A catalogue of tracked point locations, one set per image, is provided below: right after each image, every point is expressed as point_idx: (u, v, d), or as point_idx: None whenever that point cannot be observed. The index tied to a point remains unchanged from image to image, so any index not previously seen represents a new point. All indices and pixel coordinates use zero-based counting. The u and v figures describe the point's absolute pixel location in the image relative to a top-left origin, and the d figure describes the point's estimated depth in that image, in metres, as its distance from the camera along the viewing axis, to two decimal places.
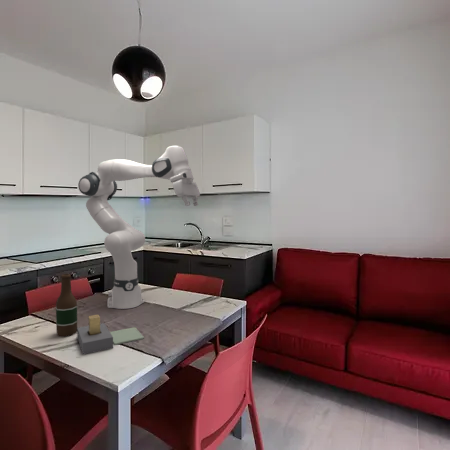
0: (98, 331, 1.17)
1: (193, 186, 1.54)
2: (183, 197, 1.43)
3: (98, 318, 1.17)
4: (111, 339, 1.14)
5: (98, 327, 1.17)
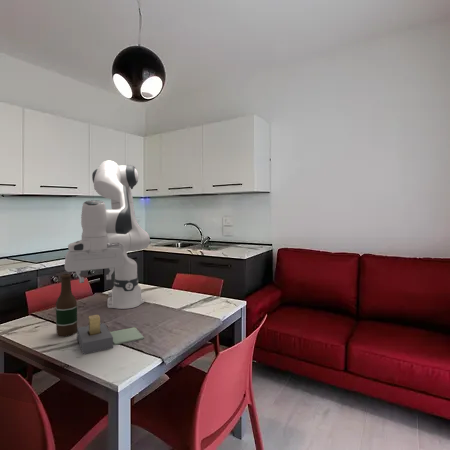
0: (98, 331, 1.17)
1: (109, 255, 1.18)
2: (76, 272, 1.13)
3: (98, 318, 1.17)
4: (111, 339, 1.14)
5: (98, 327, 1.17)
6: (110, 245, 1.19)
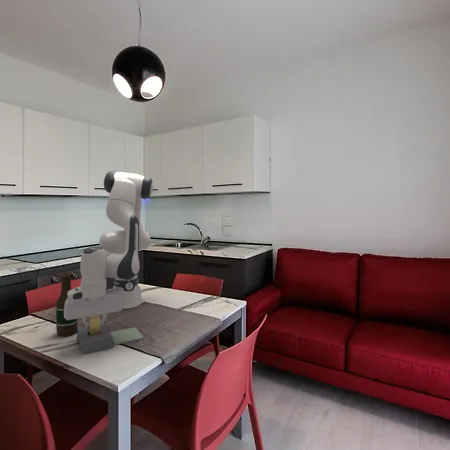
0: (98, 331, 1.17)
1: (108, 301, 1.19)
2: (81, 318, 1.16)
3: (98, 318, 1.17)
4: (111, 339, 1.14)
5: (98, 327, 1.17)
6: (109, 290, 1.20)
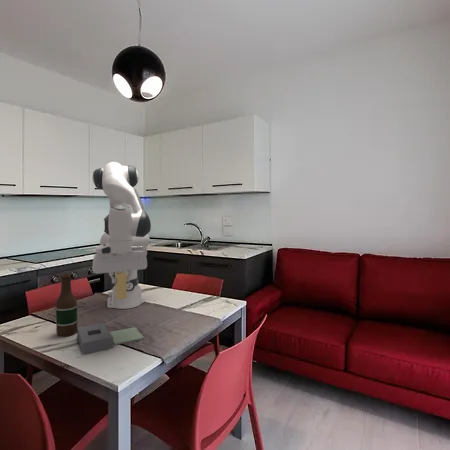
0: (124, 286, 1.22)
1: (134, 258, 1.23)
2: (109, 273, 1.20)
3: (125, 274, 1.21)
4: (111, 339, 1.14)
5: (124, 282, 1.21)
6: (135, 248, 1.24)
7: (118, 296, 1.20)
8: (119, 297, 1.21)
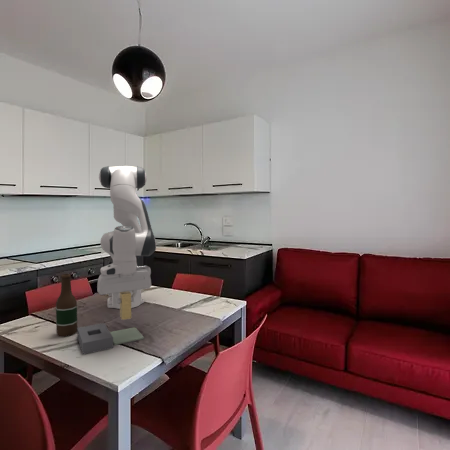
0: (129, 306, 1.22)
1: (138, 278, 1.24)
2: (113, 293, 1.21)
3: (129, 294, 1.22)
4: (111, 339, 1.14)
5: (129, 302, 1.22)
6: (139, 268, 1.25)
7: (123, 316, 1.21)
8: (124, 317, 1.22)
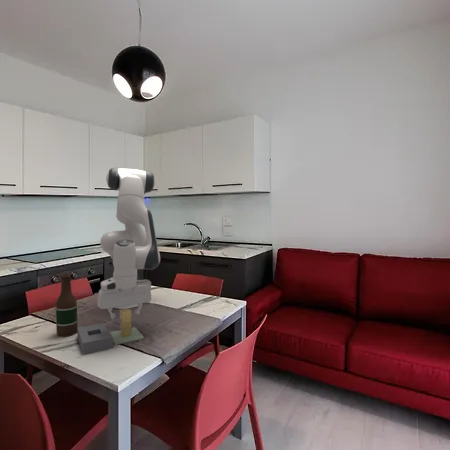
0: (129, 324, 1.23)
1: (138, 291, 1.25)
2: (107, 308, 1.20)
3: (129, 311, 1.23)
4: (111, 339, 1.14)
5: (129, 320, 1.23)
6: (139, 282, 1.26)
7: (123, 334, 1.22)
8: (124, 334, 1.22)
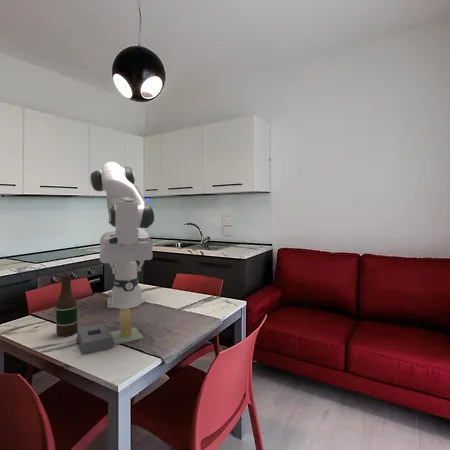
0: (129, 324, 1.23)
1: (140, 248, 1.26)
2: (109, 263, 1.22)
3: (129, 311, 1.23)
4: (111, 339, 1.14)
5: (129, 320, 1.23)
6: (141, 239, 1.27)
7: (123, 334, 1.22)
8: (124, 334, 1.22)
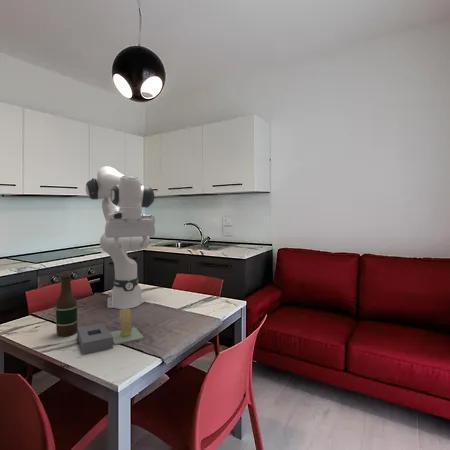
0: (129, 324, 1.23)
1: (143, 225, 1.32)
2: (114, 238, 1.28)
3: (129, 311, 1.23)
4: (111, 339, 1.14)
5: (129, 320, 1.23)
6: (143, 216, 1.33)
7: (123, 334, 1.22)
8: (124, 334, 1.22)
